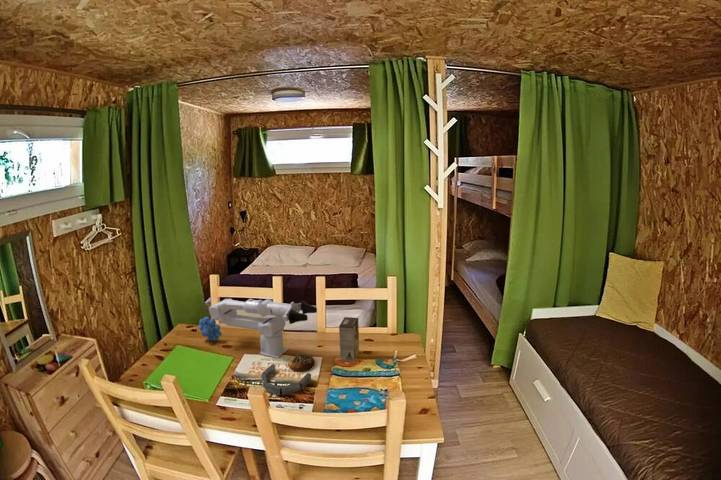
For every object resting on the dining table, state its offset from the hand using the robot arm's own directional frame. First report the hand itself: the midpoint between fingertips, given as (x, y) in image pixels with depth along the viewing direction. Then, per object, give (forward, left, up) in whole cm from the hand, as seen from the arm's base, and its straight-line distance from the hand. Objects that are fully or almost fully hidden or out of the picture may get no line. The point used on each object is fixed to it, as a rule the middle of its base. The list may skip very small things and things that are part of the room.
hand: (311, 313), depth 142 cm
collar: (-3, -18, -21) cm, 28 cm away
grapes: (-54, -3, -21) cm, 58 cm away
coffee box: (+13, +9, -21) cm, 26 cm away
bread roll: (-3, -4, -22) cm, 22 cm away
